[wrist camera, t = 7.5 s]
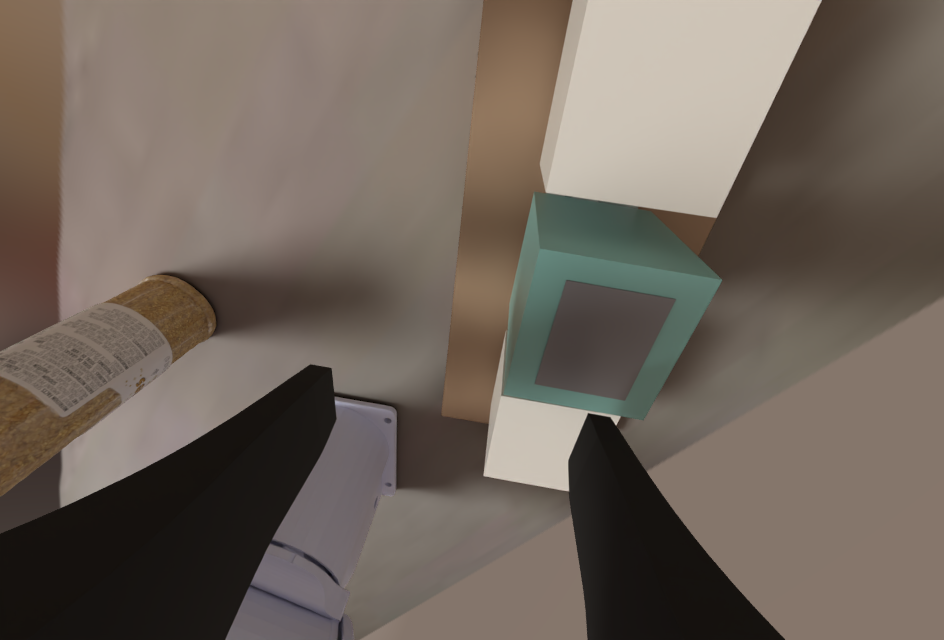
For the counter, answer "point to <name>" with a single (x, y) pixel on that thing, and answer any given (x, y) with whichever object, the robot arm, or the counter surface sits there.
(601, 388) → the block
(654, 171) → the mounted modules
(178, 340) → the sprinkles bottle
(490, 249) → the rail board
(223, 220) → the counter surface
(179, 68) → the counter surface
